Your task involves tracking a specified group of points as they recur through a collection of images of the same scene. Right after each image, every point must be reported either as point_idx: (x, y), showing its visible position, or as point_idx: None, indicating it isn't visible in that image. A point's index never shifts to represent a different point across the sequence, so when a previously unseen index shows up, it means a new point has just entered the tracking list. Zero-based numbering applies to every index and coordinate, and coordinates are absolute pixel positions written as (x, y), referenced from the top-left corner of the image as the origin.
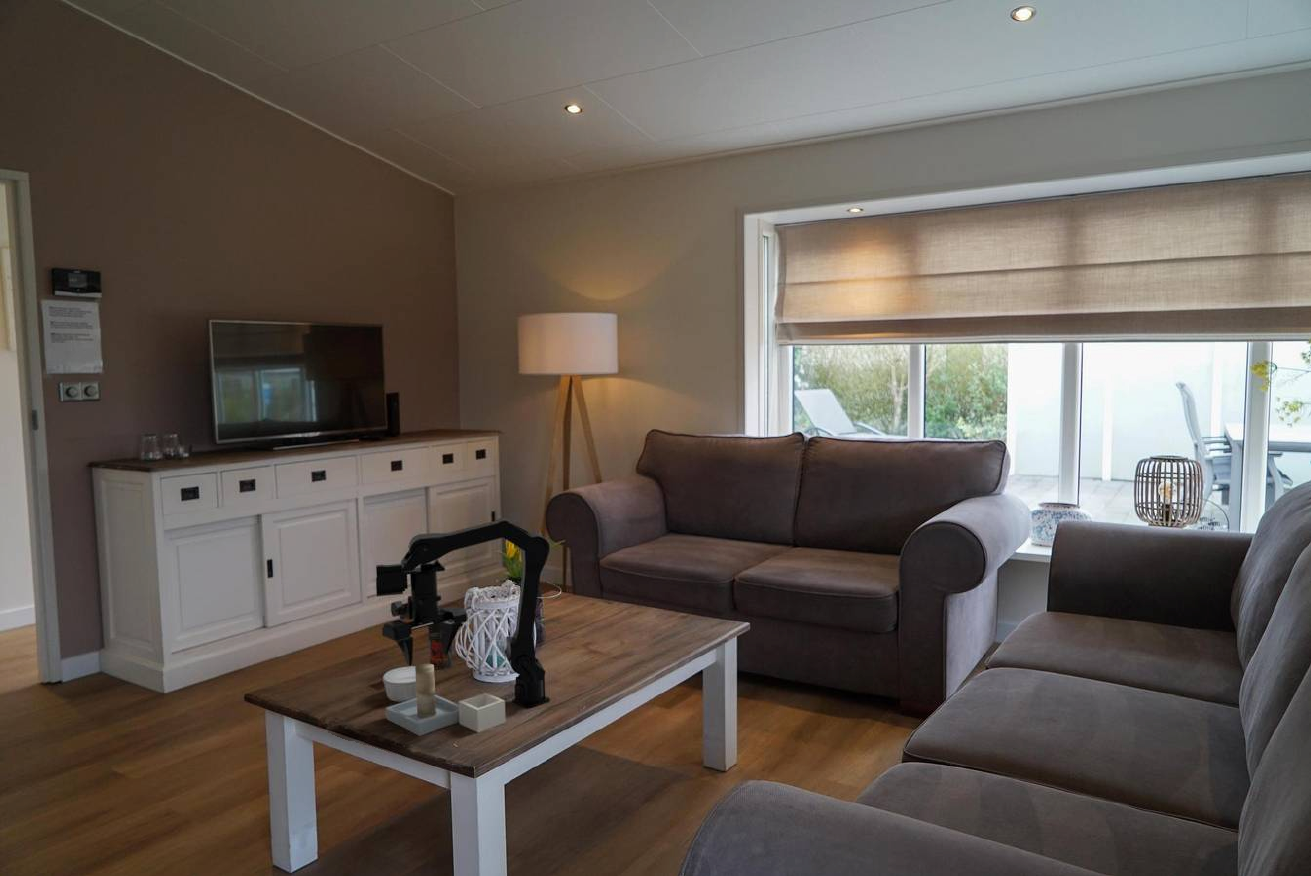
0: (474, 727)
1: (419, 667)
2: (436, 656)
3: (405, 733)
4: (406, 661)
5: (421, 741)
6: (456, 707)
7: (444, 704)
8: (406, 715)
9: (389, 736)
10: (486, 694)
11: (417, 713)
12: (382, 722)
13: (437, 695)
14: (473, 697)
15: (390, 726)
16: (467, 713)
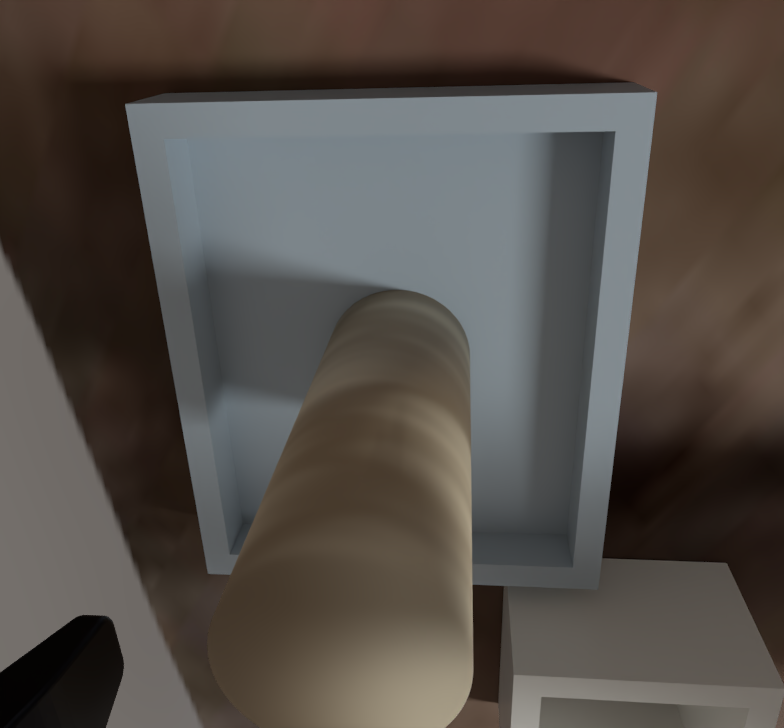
0: (500, 696)
1: (264, 647)
2: None
3: (180, 434)
4: (31, 664)
5: (209, 583)
6: (576, 506)
7: (588, 341)
8: (274, 254)
9: (81, 400)
10: (756, 716)
11: (332, 333)
12: (117, 140)
13: (642, 195)
14: (646, 694)
15: (141, 260)
16: (505, 706)
